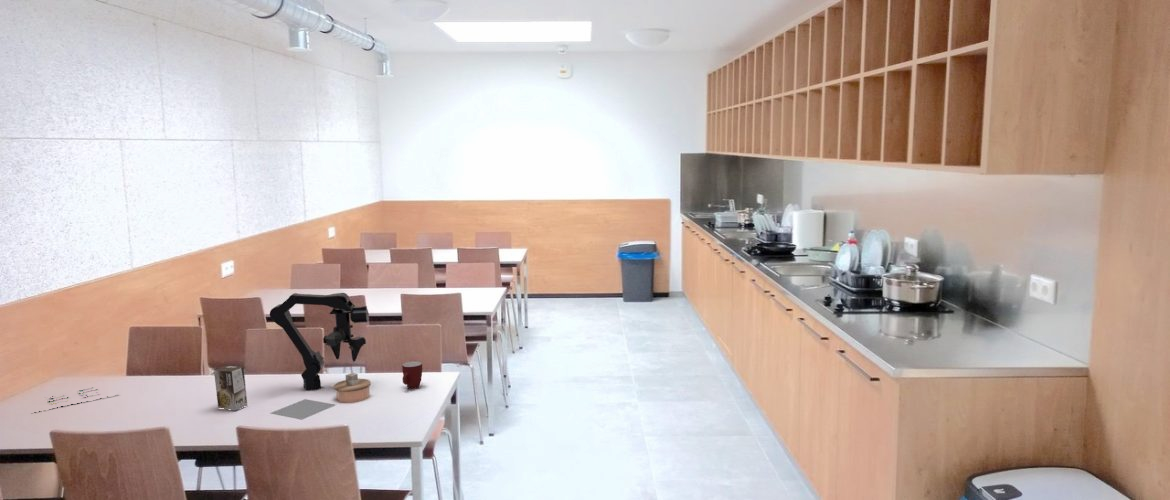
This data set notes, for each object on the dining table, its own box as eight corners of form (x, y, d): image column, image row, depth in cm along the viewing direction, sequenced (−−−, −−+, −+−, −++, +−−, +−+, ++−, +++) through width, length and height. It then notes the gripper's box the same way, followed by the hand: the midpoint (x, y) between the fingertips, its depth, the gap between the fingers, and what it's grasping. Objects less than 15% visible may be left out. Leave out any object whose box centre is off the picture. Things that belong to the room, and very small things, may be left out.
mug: (415, 392, 303) (413, 369, 301) (397, 391, 304) (395, 368, 303) (426, 384, 313) (425, 361, 311) (409, 383, 315) (407, 361, 313)
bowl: (331, 402, 294) (330, 388, 294) (353, 392, 305) (352, 379, 304) (353, 406, 289) (352, 392, 288) (375, 396, 299) (374, 383, 299)
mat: (269, 415, 281) (269, 413, 281) (305, 401, 296) (305, 399, 296) (302, 422, 273) (301, 419, 273) (336, 407, 288) (336, 404, 288)
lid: (326, 389, 293) (325, 377, 293) (352, 379, 306) (351, 367, 305) (352, 393, 287) (351, 381, 286) (378, 382, 299) (377, 371, 298)
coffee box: (248, 406, 293) (244, 366, 291) (235, 411, 287) (231, 371, 285) (230, 404, 296) (226, 364, 294) (217, 409, 290) (213, 369, 288)
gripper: (311, 326, 305) (314, 363, 307) (345, 330, 297) (348, 367, 299) (332, 320, 315) (335, 356, 317) (365, 323, 306) (368, 360, 308)
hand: (345, 360), depth 310 cm, fingers open, 9 cm apart
